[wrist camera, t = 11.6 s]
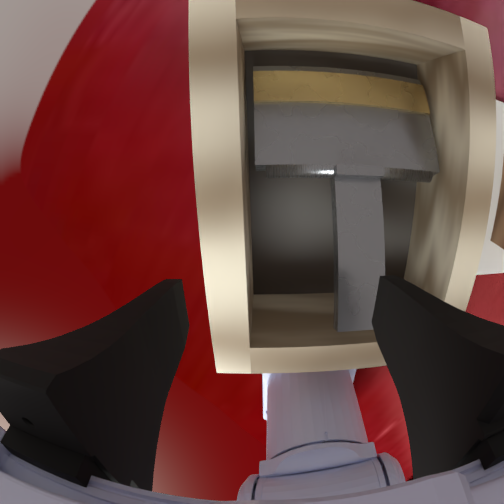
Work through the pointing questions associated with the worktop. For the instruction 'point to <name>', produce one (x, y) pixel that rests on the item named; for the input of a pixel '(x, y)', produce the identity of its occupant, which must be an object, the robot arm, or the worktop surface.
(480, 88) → the pocket board
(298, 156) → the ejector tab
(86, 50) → the worktop surface
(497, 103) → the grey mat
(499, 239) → the walnut bar
